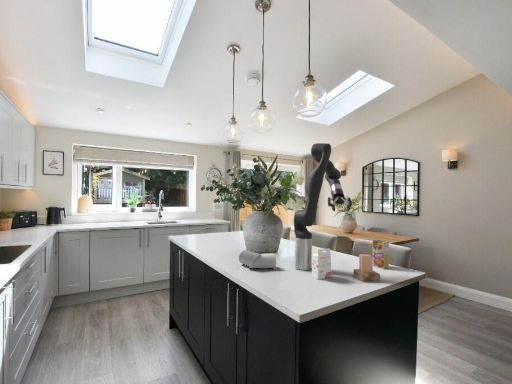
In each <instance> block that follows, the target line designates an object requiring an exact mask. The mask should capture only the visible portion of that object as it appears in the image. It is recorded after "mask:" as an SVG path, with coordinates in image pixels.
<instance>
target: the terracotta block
mask: <svg viewBox="0 0 512 384" xmlns="http://www.w3.org/2000/svg"><path fill="white" fill-rule="evenodd" d="M358 256H359V257H358V259H359V261H358V262H359V263H358V264H359V265H358V266H359V268H358V269H359V270H360V271H361V272H363V273H373V271H374V269H373V267H374V265H373V255H371V254H368V253H367V254H365V253H364V254H363V253H359V254H358Z"/></svg>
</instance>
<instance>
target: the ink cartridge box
mask: <svg viewBox="0 0 512 384" xmlns="http://www.w3.org/2000/svg"><path fill="white" fill-rule="evenodd" d="M331 256H332V254H331V248H320V249H317V253H312V269H311V277H312V278H313V279H316V280H322V279H328V278H332V259H331V258H332V257H331Z"/></svg>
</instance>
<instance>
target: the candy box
mask: <svg viewBox="0 0 512 384" xmlns="http://www.w3.org/2000/svg"><path fill="white" fill-rule="evenodd" d="M372 256H373V267H374V266H375V267H378V268H380V269H383V270H386V269H390V243H389V241H383V240H379V239H373V240H372Z"/></svg>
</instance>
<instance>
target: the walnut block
mask: <svg viewBox="0 0 512 384" xmlns="http://www.w3.org/2000/svg"><path fill="white" fill-rule="evenodd" d="M353 277H354V278H356V279H357V280H358V281H360V282H362V283H370V282H371V283H376V282H377V283H378V282H381V274H380V273H378V272H377V271H375V270H373V273H363V272H361V271H360V270H359V268H358V269H357V268H356V269H355V268H354V269H353Z"/></svg>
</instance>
